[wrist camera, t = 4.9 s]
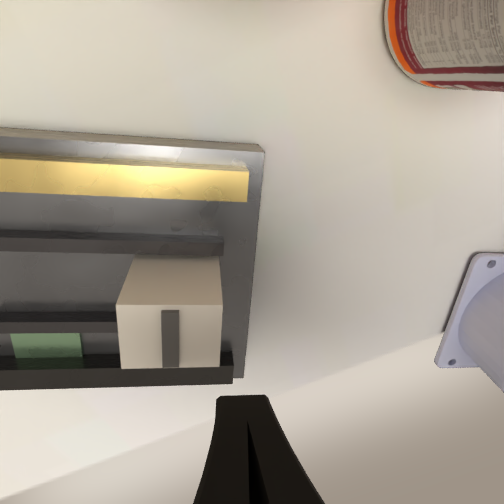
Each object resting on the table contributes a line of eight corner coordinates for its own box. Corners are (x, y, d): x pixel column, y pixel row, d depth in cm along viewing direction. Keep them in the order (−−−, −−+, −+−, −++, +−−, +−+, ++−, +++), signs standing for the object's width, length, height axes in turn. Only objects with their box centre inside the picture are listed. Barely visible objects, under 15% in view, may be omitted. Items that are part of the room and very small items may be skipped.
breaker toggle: (218, 255, 16) (223, 308, 13) (216, 307, 18) (219, 370, 14) (135, 253, 16) (114, 308, 12) (138, 307, 17) (120, 372, 13)
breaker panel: (258, 144, 17) (268, 157, 14) (240, 352, 22) (245, 392, 19) (-61, 123, 15) (-120, 133, 12) (0, 356, 20) (-32, 400, 17)
